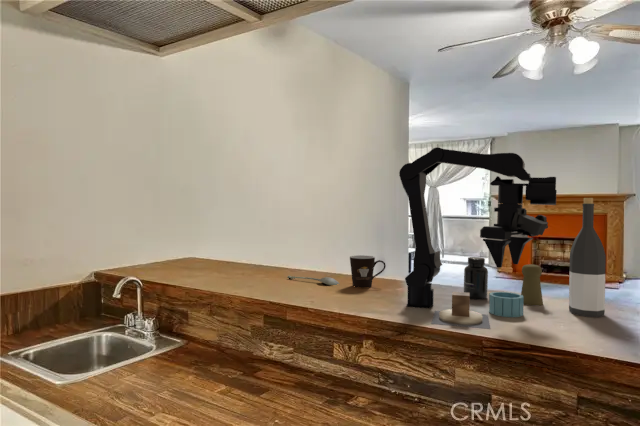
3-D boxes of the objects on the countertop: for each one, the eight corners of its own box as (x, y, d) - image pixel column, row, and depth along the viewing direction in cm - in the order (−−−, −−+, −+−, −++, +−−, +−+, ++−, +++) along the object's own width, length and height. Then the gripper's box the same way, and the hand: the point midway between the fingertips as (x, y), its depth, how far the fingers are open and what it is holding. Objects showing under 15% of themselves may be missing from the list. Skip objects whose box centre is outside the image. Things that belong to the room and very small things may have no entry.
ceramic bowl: (490, 316, 111) (490, 297, 111) (488, 309, 119) (488, 291, 119) (524, 319, 109) (525, 299, 108) (520, 311, 116) (521, 293, 116)
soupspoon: (332, 290, 150) (343, 287, 155) (333, 280, 150) (343, 278, 155) (282, 280, 162) (294, 279, 168) (283, 271, 162) (294, 270, 168)
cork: (545, 306, 123) (546, 266, 122) (522, 305, 124) (523, 266, 124) (539, 301, 129) (540, 263, 128) (517, 300, 130) (518, 263, 130)
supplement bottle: (463, 298, 132) (463, 258, 131) (464, 294, 138) (464, 256, 138) (487, 300, 129) (488, 259, 129) (487, 295, 136) (487, 257, 136)
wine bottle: (561, 309, 119) (563, 198, 118) (590, 309, 119) (592, 198, 118) (581, 317, 111) (583, 197, 110) (612, 317, 111) (614, 197, 110)
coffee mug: (346, 287, 149) (346, 257, 148) (354, 282, 157) (354, 254, 156) (379, 290, 144) (380, 259, 144) (386, 285, 152) (386, 256, 152)
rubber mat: (431, 325, 103) (431, 323, 103) (434, 312, 116) (434, 310, 116) (490, 330, 99) (490, 328, 99) (487, 316, 112) (487, 314, 112)
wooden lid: (438, 322, 104) (438, 296, 104) (440, 312, 114) (440, 288, 114) (483, 326, 101) (483, 299, 101) (481, 315, 111) (482, 291, 111)
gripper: (527, 204, 99) (524, 274, 99) (558, 205, 111) (555, 266, 112) (480, 203, 107) (477, 267, 107) (514, 203, 119) (511, 261, 120)
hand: (507, 265), depth 111 cm, fingers open, 9 cm apart
